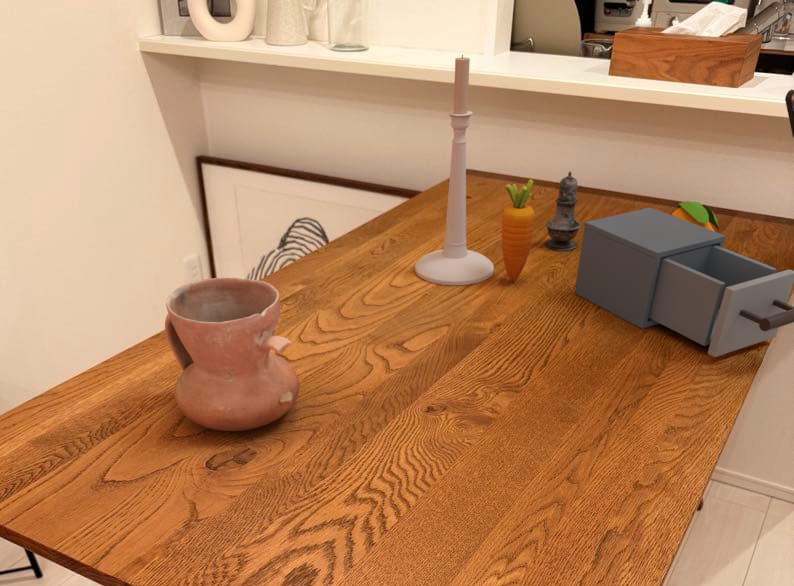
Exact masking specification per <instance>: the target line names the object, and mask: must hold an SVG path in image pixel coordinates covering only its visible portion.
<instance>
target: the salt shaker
mask: <svg viewBox="0 0 794 586" xmlns="http://www.w3.org/2000/svg"><path fill="white" fill-rule="evenodd" d="M572 175H573V173H572V171H571V170H570V171H569V172H568V173H567V176H565V177H563V178H562V179H560V181H559V189H558V194H557V195H558V196H557V198H556V199H555V202H556V209H555V214H554V217H553V218H552V219H549V220H548V221H546V222H545V226H546V227H547V229H546V230H547V234H548V236H549V237H550V239H549V240H548V241H546V242H545V247H546V248H548V249H550V250H551V251H552V250H553V251H558V252H559V251H560V252H567V251H572V250H574V249H576V248H577V243H576V242H575V241H574V240H573V239H574V238H575V237H577V234H578V233H579V230H580V229H581V227H582V224H581V222H580V221H578V220H576V219H575V209H576V204H577V203H578V199H577V198H576V197H577V191H578V183H579V182H578V180H577V179H576V177H573V176H572Z"/></svg>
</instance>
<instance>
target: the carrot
mask: <svg viewBox="0 0 794 586" xmlns="http://www.w3.org/2000/svg"><path fill="white" fill-rule="evenodd" d="M534 184H535V183H534V180H533V179H528V182H527V183H526V185H522V187H521V189H520V190H519V191H518V188H517V185H516V183H513V184H512V185H511V184H510V183H507V184H506V185H505V189H506V192H508V195H509V197H510V200H511V202H512V204H511V205H508V206H506V207H505V208H504V209H503V211H502V216H501V217H502V218H501V252H502V259H503V264H504V267H505V271H506V273H507V277H508V279H509V280H510V281H511V282H512V283H514V282H515V281H516V280H518V278H519V276H520V275H521V273H522V272H523V270H524V268H525V266H526V263H527V260H528V257H529V254H530V251H531V247H532V242H533V235H534V229H535V222H536V214H535V211H534V208H533V207H532V206H530V205H528V204H526V203H527V201H528V200H529V199H530V197H531V196H532V195H533V194H532V193H531V191H532V188H533V185H534Z"/></svg>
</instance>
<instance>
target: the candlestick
mask: <svg viewBox="0 0 794 586" xmlns="http://www.w3.org/2000/svg"><path fill="white" fill-rule="evenodd" d="M454 59H455V60H454V84H453V85H454V86H453V89H454V90H453V110H450V111H448V112H447V114H448V115H449V117H450V119H451V122H450V127H451V128H452V129H453V139H452V140H451V143H452V144H451V157H450V167H449V168H450V169H449V170H450V171H449V180H448V181H449V182H448V193H447V194H448V195H447V205H446V206H447V207H446V219H445V220H446V221H445V230H444V240H443V242H444V243H443V249H439V250H434V251H432V252H428V253H427V254H425V255H423V256H422V257H421V258H420V259H418V260H417V261H416V262H415V265H414V272H415V275H416V276H417V277H418V278H420V279H422V280H424V281H426V282H428V283H432V284H435V285H441V286H467V285H473V284H478V283H481V282H484V281H486V280H488V279H490V278H491V277H492V276H493V275H494V272H495V271H494V270H495V266H494V263H493V262H492V261H491V260H490V259H489V258H488V257H487V256H485V255H484V254H482V253H480V252H477V251H475V250H471V249H468V247H467V139H466V133H467V128H468V127H469V126H470V121H469V119H470V117H471V116H472V115H473V114H474V112H473V111H470V110H469V109H468V106H469V84H470V62H471V61H470V60H471V58H470V57H464V54H462V55H461V57H456V58H454Z"/></svg>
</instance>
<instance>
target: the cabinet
mask: <svg viewBox="0 0 794 586" xmlns="http://www.w3.org/2000/svg"><path fill="white" fill-rule="evenodd" d="M582 233H583V234H582V240H581V248H580V253H579V259H578V268H577V275H576V281H575V288H574V294H575V295H577V296H579V297H581V298H582V299H585V300H587V301H588V302H590V303H592V304H594V305H596V306H598V307H600V308H602V309H604V310H605V311H607V312H609V313H611V314H612V315H615V316H616V317H619V318H620V319H623V320H624V321H627V322H628V323H630V324H632V325H633V326H636V327H637V328H639V329H641V330H643V329H647V328H650V327H653V326H656V325H661V324H660V323H658V322H656V321H654V320H652V319H650V318H648V316H649V311H650V306H651V302H652V297H653V292H654V288H655V283H656V278H657V274H658V269H659V264H660V260H661V258H662V257H666V256H669V255H673V254H677V253H681V252H685V251H689V250H693V249H697V248H701V247H705V246H709V245H713V244H714V245H717V246H720V247H722V248H724V246H725V244H726V243H725V241H726V238H727V235H725V234H723V233H719V232H718V231H715V230H714V231H712V230H709V229H707V228H704V227H701V226H698V225H696V224H693V223H690V222H688V221H685V220H682V219H680V218H677V217H674V216H672V214H669V213H665V212H663V211H661V210H658V209H656V208H653V207H646V208H642V209H637V210H633V211H629V212H624V213H620V214H615V215H611V216H607V217H601V218H598V219H592V220H589V221H585V222H584V228H583V232H582Z"/></svg>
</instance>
